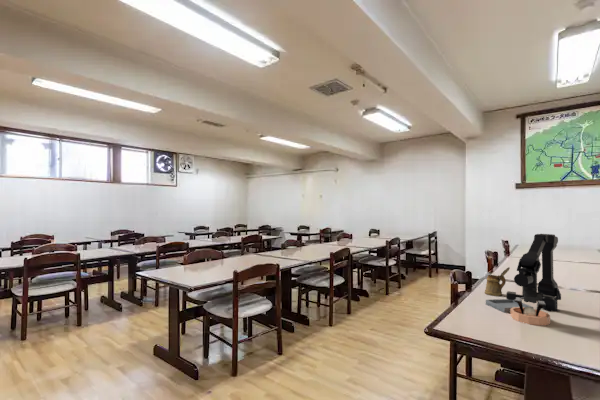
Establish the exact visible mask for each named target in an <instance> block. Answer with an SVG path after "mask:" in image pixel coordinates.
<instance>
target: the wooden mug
mask: <svg viewBox="0 0 600 400" xmlns="http://www.w3.org/2000/svg"><path fill="white" fill-rule="evenodd" d="M509 270H510V266H509V267H507V268H505V269H504V270H503V271H502V272H501V274H500V275H499V274H498V275H495V274H488V275H487V277H486V284H485V289H484V294H485V295H488V296H492V297H493V296H494V297H501V296H502V295H503V292H502V290H503V288H504V286H505V285H506V283H507V282H506V277H505V275H506V274H507V273H508V272H509ZM500 282H501V283H500Z"/></svg>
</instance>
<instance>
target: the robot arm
mask: <svg viewBox="0 0 600 400" xmlns="http://www.w3.org/2000/svg"><path fill="white" fill-rule="evenodd" d="M558 243H559V238H558V236H556V235H555V234H551V233H537V234H534V236H533V241H532V242H531V244H530V247H529V249H528V251H527V252H525V253H524V254H522V256H521V258H519V262H518V265H517V267H516V271H517V272H518V273H517V274H516V275H514V277H513V282H514V283H515V284H516V285H517V286H519V287H522V291H521V292H522V294H517V292H516V291H509V290H507V292H506V296H505V297H506V298H505V299H510V300H514V301H515V302H517V303H518V305H519V307H520V309H521V312H522V314H523V315H524V312H523V305H522V303H523V301H524V303H531V304H536V308H535V309H536V317H538V314H539V312H540V310H541V311H542V310H545V311H546V312H547V311H548V312H560V311H561V309H558V301H561V300H562V294H561V292H560V289H559V286H558V283H557V281H556V280H555V279H554V250H555V249H556V247H557V246H558ZM540 257H541V261H540ZM541 267H542V268H541ZM540 269H541V270H542V271H541V274H542V275H541V277H542V278H541V279H540V280H539V281H538V273H539V271H540Z"/></svg>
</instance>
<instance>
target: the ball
mask: <svg viewBox="0 0 600 400" xmlns="http://www.w3.org/2000/svg"><path fill="white" fill-rule="evenodd" d="M532 307H533V306H532ZM532 307H525V308H524V310H523V312H524V314H525V315H527V316H534V317H535V316H536V311H535V309H536V308H534V307H533V308H532Z"/></svg>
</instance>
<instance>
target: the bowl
mask: <svg viewBox="0 0 600 400" xmlns="http://www.w3.org/2000/svg"><path fill="white" fill-rule="evenodd" d="M524 308H525V307H523V310H524ZM534 309H535V311H536V309H537V308H534ZM509 316H510V318H511V317H512V318H513V319H512V318H511V319H512V320H514V319H515V321H516V322H519V321H520V323H523V322H524V324H526V323H527V325H532V326H548V325H549V324H551V315H550V314H549V313H548V312H547V311H546V312H545V311H544V310H542V309H541V310H540V312H539V314H538V317H536V316H535V317H534V316H527V315H525V314H524V315H523V314H522V312H521V309H520V307H513V308H511V309H510V315H509Z"/></svg>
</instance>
